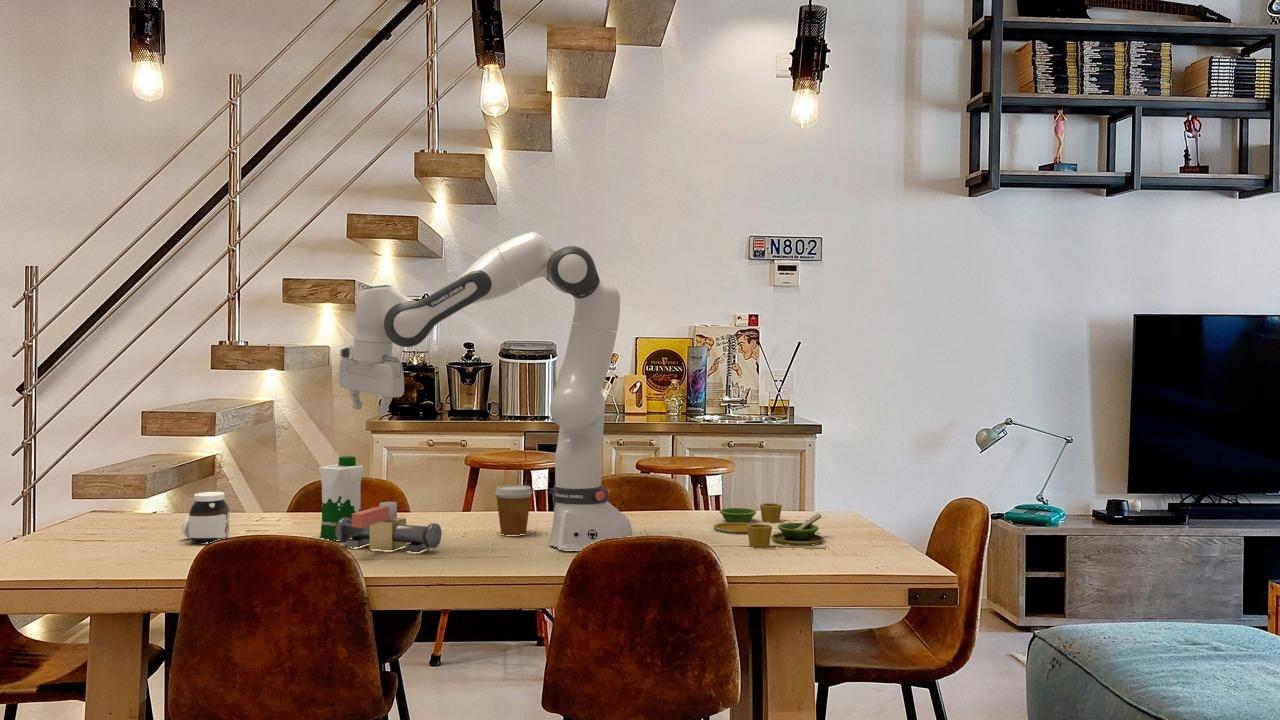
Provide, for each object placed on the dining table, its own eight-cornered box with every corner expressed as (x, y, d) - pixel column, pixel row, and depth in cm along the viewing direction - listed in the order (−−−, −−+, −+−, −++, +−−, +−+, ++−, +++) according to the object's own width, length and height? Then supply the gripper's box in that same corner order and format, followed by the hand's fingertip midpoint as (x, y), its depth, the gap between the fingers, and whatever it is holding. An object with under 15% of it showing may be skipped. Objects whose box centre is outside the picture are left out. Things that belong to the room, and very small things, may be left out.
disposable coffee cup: (535, 531, 247) (535, 485, 247) (527, 538, 238) (528, 490, 238) (499, 530, 248) (499, 484, 248) (490, 537, 239) (490, 489, 239)
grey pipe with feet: (441, 550, 224) (442, 520, 223) (428, 555, 218) (428, 525, 218) (349, 543, 231) (349, 514, 231) (334, 548, 226) (334, 518, 226)
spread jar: (216, 545, 228) (216, 497, 228) (168, 545, 228) (168, 496, 228) (237, 535, 240) (237, 489, 240) (192, 535, 240) (191, 489, 240)
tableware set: (828, 553, 225) (829, 526, 225) (710, 550, 228) (711, 523, 228) (814, 521, 266) (815, 499, 266) (715, 519, 269) (715, 497, 269)
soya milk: (367, 537, 239) (367, 457, 239) (340, 543, 231) (340, 461, 231) (341, 533, 243) (341, 455, 243) (313, 540, 235) (313, 458, 235)
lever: (385, 516, 227) (385, 501, 227) (400, 517, 226) (400, 502, 226) (348, 526, 213) (348, 511, 213) (364, 528, 212) (364, 512, 212)
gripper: (412, 358, 222) (409, 417, 223) (357, 348, 234) (354, 404, 235) (390, 358, 216) (387, 418, 218) (335, 349, 228) (332, 406, 230)
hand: (369, 411), depth 226 cm, fingers open, 8 cm apart
